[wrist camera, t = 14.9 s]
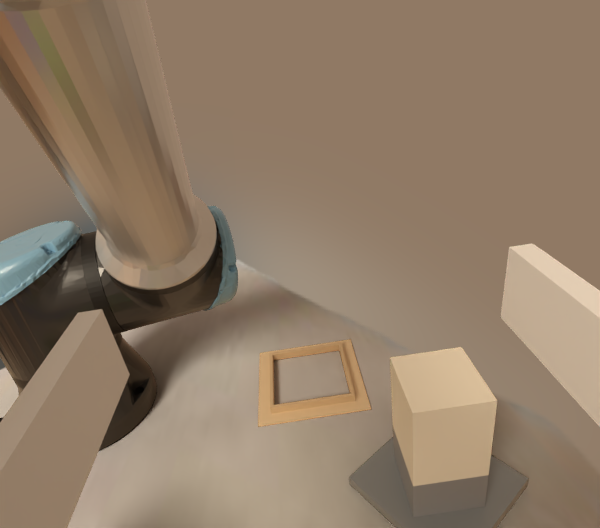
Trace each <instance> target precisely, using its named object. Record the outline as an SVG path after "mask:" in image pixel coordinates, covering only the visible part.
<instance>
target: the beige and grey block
mask: <svg viewBox="0 0 600 528" xmlns="http://www.w3.org/2000/svg"><path fill="white" fill-rule="evenodd" d="M390 371H391V396H392V421H393V445H394V457H395V460H396V463H397V466H398V470H399V473H400V476H401V479H402V482H403V485H404V489H405V492H406V495H407V498H408V501H409V505H410V508H411V511H412V514H413V517H418V516H425V515H431V514H438V513H445V512H451V511H458V510H465V509H472V508H478V507H485V502H486V493H487V485H488V476H489V468H490V459H491V451H492V442H493V434H494V425H495V417H496V408H497V399H496V398H495V396H494V395H493V393H492V392H491V390H490V389H489V387H488V386H487V384H486V383H485V381H484V380H483V378H482V377H481V375H480V374H479V372H478V371H477V369H476V368H475V366H474V365H473V364H472V362H471V360H470V359H469V357H468V356H467V354H466V353H465V351H464V350H463V348H462V347H457V348H451V349H444V350H437V351H431V352H424V353H417V354H410V355H403V356H397V357H390Z"/></svg>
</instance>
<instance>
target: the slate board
mask: <svg viewBox="0 0 600 528" xmlns="http://www.w3.org/2000/svg"><path fill="white" fill-rule="evenodd" d="M349 482H350V485H351V486H352V487H353V488H354V489H356V490H357V491H358V492H359V493H360V494H361V495H362V496H363V497H364V498H365V499H366V500H367V501H368V502H369V503H370V504H372V505H373V506H374V507H375V508H376V509H377V510H378V511H379V512H380V513H381V514H382V515H383V516H384V517H385V518H386V519H388V520H389V521H390V522H391V523H392V524H393V525H394V526H395V527H396V528H497V526H498V525H499V524H500V522H501V521H502V520H503V518H504V517H505V515H506V514H507V513H508V511H509V510H510V509H511V507H512V506H513V505H514V503H515V502H516V500H517V499H518V498H519V496H520V495H521V494H522V492H523V491H524V490H525V488H526V487H527V484H528V478H527V477H525V476H524V475H522V474H521V473H519V472H517V471H516V470H514V469H513V468H511V467H510V466H508V465H507V464H505V463H503V462H502V461H500V460H499V459H497V458H496V457H494V456H492V455H491V459H490V468H489V476H488V485H487V493H486V502H485V507H478V508H472V509H465V510H458V511H451V512H445V513H438V514H431V515H425V516H418V517H413V514H412V511H411V508H410V505H409V501H408V498H407V495H406V492H405V489H404V485H403V482H402V479H401V476H400V473H399V470H398V466H397V463H396V460H395V457H394V445H393V437H392V438H391V439H390V440H389V441H388V442H387V443H386V444H385V445H384V446H382V447H381V448H380V449H379V450H378V451H377V452H376V453H375V454H374V455H373V456H372V457H370V458H369V459H368V460H367V461H366V462H365V463H364V464H363V465H362V466H361V467H360V468H358V469H357V470H356V471H355V472H354V473H353V474H352V475H351V476H350V477H349Z"/></svg>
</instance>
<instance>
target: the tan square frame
mask: <svg viewBox="0 0 600 528" xmlns="http://www.w3.org/2000/svg"><path fill="white" fill-rule="evenodd" d="M333 351H339V352H340V356H341V360H342V364H343V368H344V372H345V376H346V380H347V384H348V388H349V392H350V393H349V394H342V395H336V396H329V397H322V398H316V399H309V400H303V401H296V402H290V403H283V404H277V405H275V400H274V360H280V359H287V358H293V357H300V356H306V355H313V354H319V353H326V352H333ZM365 410H371V406H370V403H369V400H368V396H367V393H366V390H365V386H364V383H363V380H362V376H361V373H360V370H359V366H358V363H357V360H356V356H355V353H354V350H353V346H352V343H351V340H350V339H349V340H342V341H336V342H329V343H323V344H316V345H309V346H303V347H296V348H290V349H283V350H277V351H270V352H263V353H260V366H259V409H258V427H261V426H267V425H274V424H280V423H287V422H293V421H300V420H306V419H313V418H319V417H326V416H332V415H339V414H345V413H352V412H358V411H365Z"/></svg>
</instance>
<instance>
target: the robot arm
mask: <svg viewBox="0 0 600 528" xmlns="http://www.w3.org/2000/svg"><path fill="white" fill-rule="evenodd" d="M0 89H1V91H2V92H3V94H4V95H5V97H6V98H7V99H8V101H9V102H10V104H11V105H12V107H13V108H14V110H15V111H16V112H17V114H18V115H19V117H20V118H21V120H22V121H23V122H24V124H25V125H26V127H27V128H28V130H29V131H30V132H31V134H32V135H33V136H34V138H35V140H36V141H37V143H38V144H39V145H40V147H41V148H42V150H43V151H44V153H45V154H46V155H47V157H48V158H49V160H50V161H51V162H52V164H53V166H54V167H55V168H56V170H57V171H58V173H59V174H60V175H61V177H62V178H63V180H64V181H65V183H66V184H67V186H68V187H69V188H70V190H71V191H72V193H73V194H74V196H75V197H76V199H77V200H78V201H79V203H80V204H81V206H82V207H83V209H84V210H85V211H86V213H87V214H88V216H89V217H90V219H91V220H92V222H93V223H94V224H95V226H96V227H97V231H96V232H91V233H86V234H82V233H81V229H80V227H77V225H76V224H75V223H74V222H71V221H63V222H59V221H58V222H53V223H48V224H44V225H41V226H38V227H35V228H32V229H29V230H27V231H24V232H22V233H19V234H17V235H14V236H12V237H10V238H8V239H6V240H3V241H1V242H0V358H1V360H2V361H3V363H4V365H5V366H6V368H7V370H8V371H9V373H10V374H11V376H12V378H13V380H14V381H15V383H16V385H17V387H18V392H19V397H18V398H17V399H16V401H15V402H14V404H13V405H12V407H11V408H10V409H9V411H8V412H7V414H6V415H5V416H4V418H0V528H67V526H68V524H69V522H70V519H71V517H72V514H73V512H74V509H75V507H76V505H77V502H78V500H79V497H80V495H81V492H82V490H83V487H84V485H85V483H86V480H87V478H88V475H89V473H90V470H91V468H92V465H93V463H94V461H95V458H96V456H97V453H98V451H99V450H101V449H103V448H105V447H107V446H109V445H111V444H112V443H114V442H116V441H117V440H119V439H120V438H122V437H123V436H124V435H126V434H127V433H128V432H130V431H131V430H132V429H133V428H134V427H135V426H136V425H137V424H138V423H139V422H140V421H141V420H142V419H143V418H144V417H145V415H146V414H147V413H148V411H149V410H150V408H151V406H152V405H153V402H154V400H155V397H156V393H157V384H156V381H155V378H154V375H153V373H152V370H151V368H150V367H149V365H148V364H147V362H146V361H145V360H144V359H143V358H142V357H141V356H140V355H139V354H138V353H137V352H136V351H135V350H134V349H133V348H132V347H131V346H130V345H129V344H128V343H127V342H126V341H125V340H124V339H123V338H122V335H121V332H125V331H128V330H132V329H135V328H139V327H143V326H146V325H150V324H153V323H157V322H161V321H164V320H168V319H172V318H175V317H179V316H183V315H186V314H190V313H194V312H197V311H201V310H205V311H207V310H210V309H213V308H214V307H215V306H217V305H220V304H223V303H226V302H228V301H230V300H231V299H232V298H233V297H234V296H235V294H236V291H237V286H238V271H237V267H236V254H235V249H234V244H233V239H232V235H231V232H230V228H229V226H228V223H227V220H226V218H225V215H224V214H223V212H222V211H221V210H220V209H219V208H217V207H216V206H206V204H205V203H204V202H203V201H202V200H201V199H199V198H198V197H197V196H195V195H193V193H192V189H191V185H190V181H189V176H188V172H187V169H186V164H185V160H184V156H183V152H182V148H181V143H180V139H179V135H178V131H177V127H176V123H175V118H174V114H173V111H172V106H171V102H170V98H169V94H168V89H167V85H166V81H165V77H164V73H163V69H162V65H161V60H160V56H159V53H158V48H157V44H156V40H155V36H154V32H153V27H152V23H151V19H150V15H149V11H148V7H147V2H146V0H0ZM501 318H502V319H503V320H504V322H505V323H506V324H507V325H508V326H509V327H510V328H511V329H512V330H513V332H514V333H515V334H516V335H517V336H518V337H519V338H520V339H521V340H522V341H523V343H525V345H526V346H527V347H528V348H529V349H530V350H531V351H532V353H533V354H534V355H535V356H536V357H537V358H538V359H539V360H540V361H541V363H542V364H543V365H544V366H545V367H546V368H547V369H548V370H549V371H550V373H551V374H552V375H553V376H554V377H555V378H556V379H557V380H558V381H559V383H560V384H561V385H562V386H563V387H564V388H565V389H566V390H567V391H568V392H569V393H570V395H571V396H572V397H573V398H574V399H575V400H576V401H577V402H578V404H579V405H580V406H581V407H582V408H583V409H584V410H585V411H586V412H587V413H588V415H589V416H590V417H591V418H592V419H593V420H594V421H595V422H596V423H597V425H598V426H599V427H600V291H599V290H598V289H596V288H595V287H594V286H592V285H591V284H589V283H588V282H586V281H585V280H584V279H582V278H581V277H579V276H578V275H577V274H575V273H574V272H572V271H571V270H569V269H568V268H567V267H565V266H564V265H562V264H561V263H560V262H558V261H557V260H555V259H554V258H552V257H551V256H550V255H548V254H547V253H545V252H544V251H543V250H541V249H539V248H538V247H537V246H535V245H534V244H527V245H520V246H513V247H509V254H508V262H507V270H506V278H505V286H504V294H503V302H502V310H501Z"/></svg>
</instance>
